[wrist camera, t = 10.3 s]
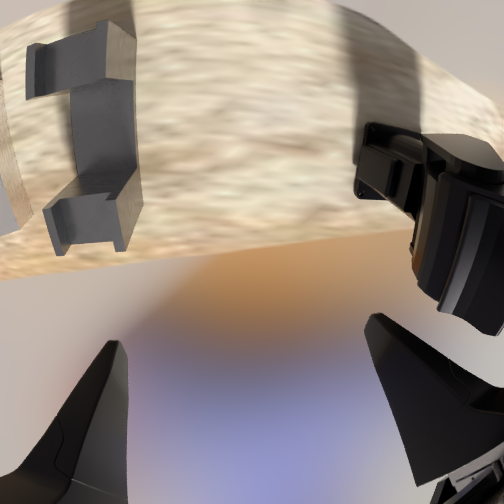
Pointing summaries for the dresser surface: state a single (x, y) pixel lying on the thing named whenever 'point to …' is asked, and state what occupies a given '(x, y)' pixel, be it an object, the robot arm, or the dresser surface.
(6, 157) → the rail
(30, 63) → the standards
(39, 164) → the dresser surface
